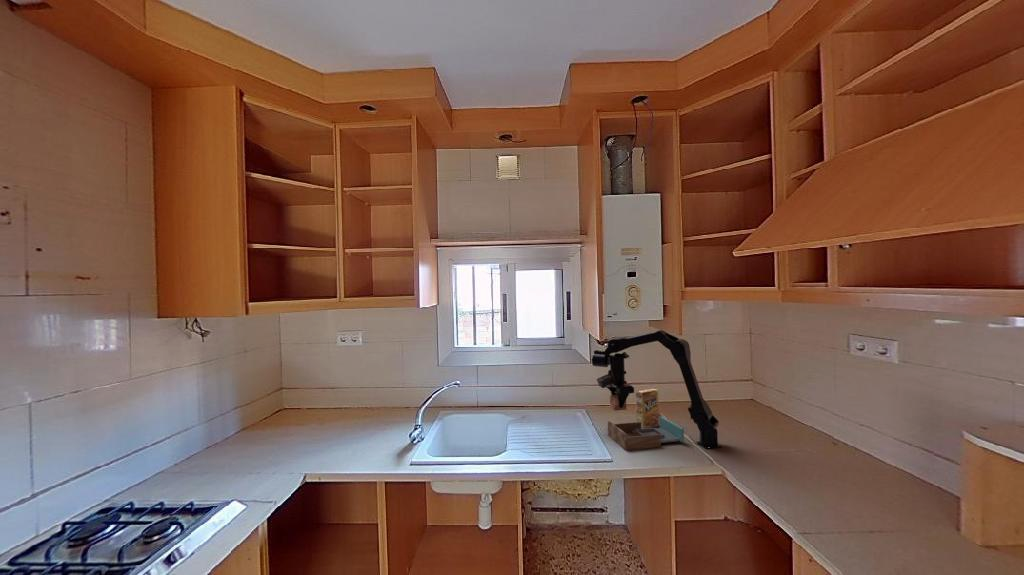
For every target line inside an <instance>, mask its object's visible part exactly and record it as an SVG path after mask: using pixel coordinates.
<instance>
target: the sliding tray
mask: <svg viewBox="0 0 1024 575" xmlns="http://www.w3.org/2000/svg"><path fill="white" fill-rule="evenodd" d="M684 430H685V428H684V427H682V426H680V425H678V424H676V423H675V422H674V421H671V420H669V419H668V418H666V417H664V416H663V415H662V416H661V415H660V416H659V427H650V428H645V429H635V430H631V433H632V434H634V435H635V436H644V435H655V434H660V438H661V443H662V444H663V443H664V444H665V443H673V442H675V443H676V442H680V443H684V442H685V431H684Z"/></svg>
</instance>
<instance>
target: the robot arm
mask: <svg viewBox="0 0 1024 575" xmlns="http://www.w3.org/2000/svg"><path fill="white" fill-rule="evenodd" d="M653 342H658V343H660V344H661V345H662V346H663V347H664V348H666V349H668V350H669V352H670V353H671V356H672V357H673V359H674V360H675V362H676V363H677V364H678V366H679V369H680V372H681V375H682V378H683V381H684V384H685V387H686V389H687V393H688V396H689V399H690V405H689V407H687V410H688V413H689V414H690V415H689V416H690V420H692V421H693V422H694V424H696V425H697V428H698V431H699V441H696V442H697V443H698V444H697V443H696V444H697V445H699V444H700V445H699V446H701V445H702V446H704V447H706V448H708V447H718V448H722V447H721V446H722V445H721V444H719V441H718V438H719V437H718V430H717V429H718V426H719V424H720V421H719V420H718V419H717V418H716V417H715V416H714V415H713V411H712V409H711V408H710V405H709V404H708V403H707V401H706V400H705V399H704V397H703V394H702V392H701V389H700V388H701V387H700V384H699V382H698V379H697V377H696V374H695V371H694V368H693V365H692V360H691V347H690V344H689V342H688V340H686V339H683V338H682V339H681V338H678V337H677V336H676V335H673V334H670V333H668V332H667V331H665V330H664V329H659V330H656V331H653V332H648V333H644V334H640V335H635V336H620V337H615V338H612V339H609V340H608V343H607V347H606V349H605V350H599V349H598V350H597V349H595V350H593V354H592V358H591V364H592V366H593V367H598V368H608V367H609V368H610V369H608V371H607V374H605V375H602V376H600V377H598V378H596V382H597V384H598V387H600V388H602V389H604V388H606V389H608V391H610V392H609V393H610V395H618V401H619V407H620V408H622V407H623V405H624V403H625V401H626V402H627V399H628V397H629V395H630V394H634V393H635V387H634V386H632V385H631V384H628V381H626V378H625V376H626V375H627V371H625V367H626V366H625V360H626V359H629V358H630V354H627V352H626V351H624V350H627V349H629V348H631V347H635V346H639V345H645V344H649V343H650V344H651V343H653ZM622 351H624V352H622ZM619 352H622V353H619ZM702 446H701V447H702ZM704 447H703V448H704ZM706 448H705V449H706ZM708 449H709V448H708Z"/></svg>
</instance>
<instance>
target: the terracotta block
mask: <svg viewBox="0 0 1024 575" xmlns="http://www.w3.org/2000/svg"><path fill="white" fill-rule="evenodd" d="M609 407H610V409H612V410H613V411H626V410H628V409H627V400H626V401H625V403H624V405H623V407H622V408H620V407H619V401H618V395H611V394H610V395H609Z"/></svg>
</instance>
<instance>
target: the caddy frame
mask: <svg viewBox="0 0 1024 575" xmlns="http://www.w3.org/2000/svg"><path fill="white" fill-rule="evenodd" d="M607 429H608V430H607V434H608V435H607V436H608V438H610V439H612V441H613V442H615V443H616V444H617V445H618V446H620V447H621V448H622V449H623V450H625V451H632V450H633V451H634V450H643V449H651V448H662V444H661V438H660V434H655V435H644V436H635V435H634V434H632V433H631V430H635V429H642V427H641V422H637V421H636V422H635V421H634V422H626V423H625V422H624V423H613V422H611V421H607Z"/></svg>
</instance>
